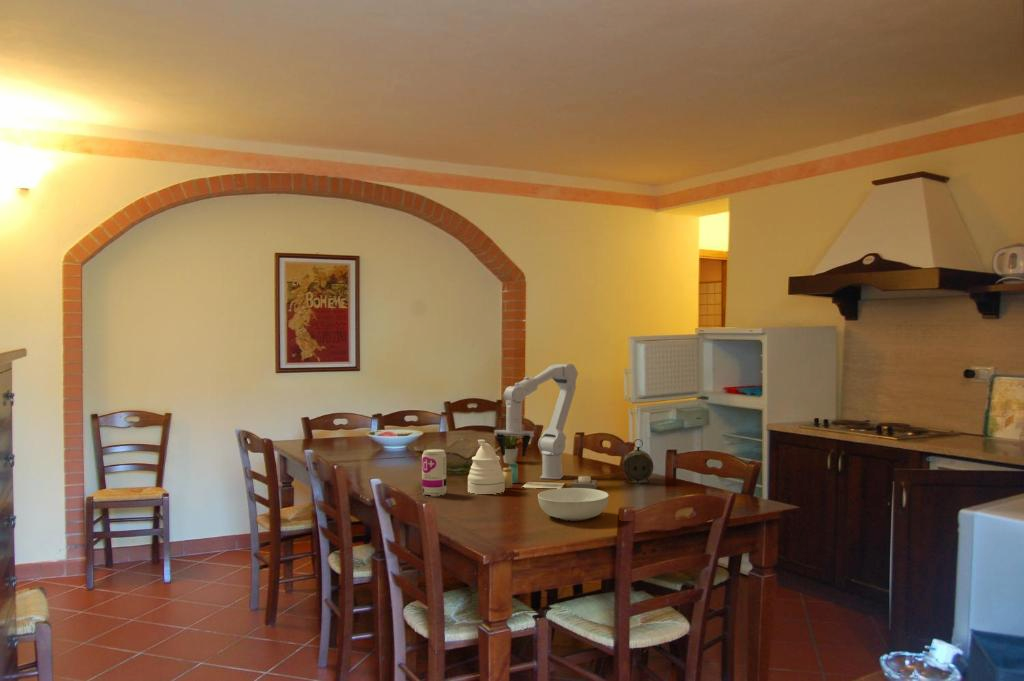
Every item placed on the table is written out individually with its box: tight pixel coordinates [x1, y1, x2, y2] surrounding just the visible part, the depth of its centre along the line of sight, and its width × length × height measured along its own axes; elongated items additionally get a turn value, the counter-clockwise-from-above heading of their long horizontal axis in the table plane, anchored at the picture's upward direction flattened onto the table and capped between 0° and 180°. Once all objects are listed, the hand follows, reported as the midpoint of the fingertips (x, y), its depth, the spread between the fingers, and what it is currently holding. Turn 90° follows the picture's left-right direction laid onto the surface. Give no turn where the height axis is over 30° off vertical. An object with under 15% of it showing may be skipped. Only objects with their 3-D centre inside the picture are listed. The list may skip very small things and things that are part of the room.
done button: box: [577, 475, 592, 483], centre depth 264 cm, size 4×4×3 cm
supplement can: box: [421, 448, 447, 497], centre depth 255 cm, size 8×8×15 cm
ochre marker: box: [502, 467, 513, 489], centre depth 266 cm, size 3×3×7 cm
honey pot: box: [467, 439, 506, 495], centre depth 261 cm, size 13×13×18 cm
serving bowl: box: [537, 487, 610, 522], centre depth 221 cm, size 21×21×7 cm
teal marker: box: [508, 462, 519, 484], centre depth 276 cm, size 3×3×7 cm
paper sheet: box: [521, 481, 566, 489], centre depth 269 cm, size 10×14×1 cm
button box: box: [571, 479, 598, 490], centre depth 264 cm, size 8×8×2 cm
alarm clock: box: [622, 438, 654, 485], centre depth 274 cm, size 11×5×16 cm, turn 84°
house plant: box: [497, 426, 524, 464], centre depth 324 cm, size 14×14×16 cm
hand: (513, 455), depth 276 cm, fingers open, 7 cm apart
